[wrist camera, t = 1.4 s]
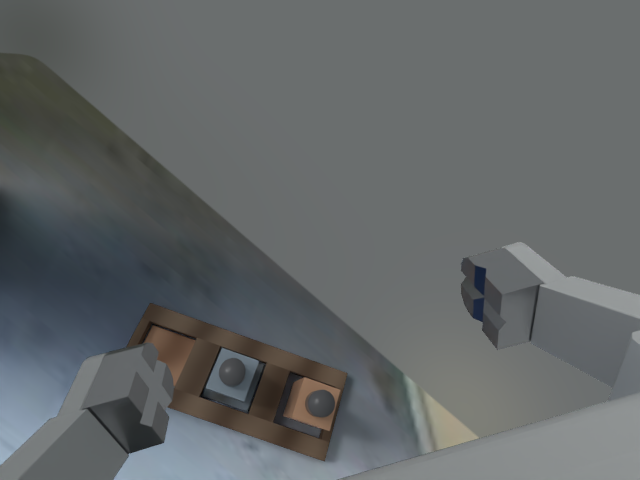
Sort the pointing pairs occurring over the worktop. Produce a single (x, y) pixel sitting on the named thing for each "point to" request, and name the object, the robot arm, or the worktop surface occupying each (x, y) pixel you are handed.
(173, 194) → the worktop surface
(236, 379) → the slate plug
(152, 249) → the worktop surface
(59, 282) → the worktop surface
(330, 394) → the terracotta plug
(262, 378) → the plug dock
